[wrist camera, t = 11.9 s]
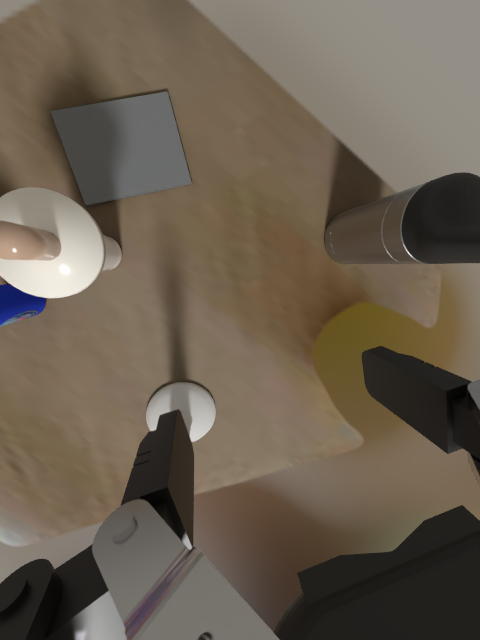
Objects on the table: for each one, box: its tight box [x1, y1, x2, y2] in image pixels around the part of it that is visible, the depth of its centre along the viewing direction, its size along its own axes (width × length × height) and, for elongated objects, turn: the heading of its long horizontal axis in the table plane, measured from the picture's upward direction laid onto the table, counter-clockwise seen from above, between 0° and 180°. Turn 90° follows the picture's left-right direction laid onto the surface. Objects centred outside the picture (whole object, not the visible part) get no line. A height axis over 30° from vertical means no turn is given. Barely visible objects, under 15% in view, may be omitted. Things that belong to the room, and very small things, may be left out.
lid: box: [0, 188, 106, 298], centre depth 21 cm, size 10×10×6 cm
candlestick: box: [146, 382, 216, 442], centre depth 32 cm, size 13×13×30 cm
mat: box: [50, 91, 192, 206], centre depth 36 cm, size 16×12×1 cm
